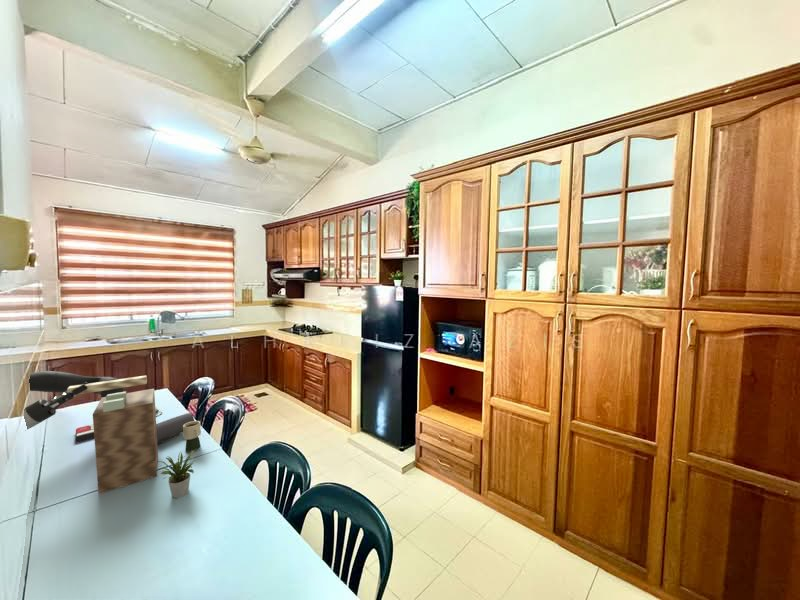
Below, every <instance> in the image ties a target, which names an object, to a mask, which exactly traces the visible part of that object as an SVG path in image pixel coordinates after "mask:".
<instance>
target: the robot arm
mask: <svg viewBox="0 0 800 600" xmlns="http://www.w3.org/2000/svg"><path fill="white" fill-rule="evenodd" d="M29 373H30V379H29V383H30V391H31V392H42V393H60V394H57V395H55V396H53V397H52V398H51V399H50V400H47V399H44V398H43V399H42V398H41V399H39V400H37V401H35V402H34V403H32V404H31V403H30V405H28V406H26V407H24V408H25V409H24V408H23V409H24V419H25V422H26V426H27V430H30V429H31V428H33V427H35V426H37V425H39V424H40V423H42V422H44V421H46V420H48V419H49V418H51V417H53V416H54V415H56V414H57V409H58V408H60V407H62V406H63V405H64V404H66V403H68V402H69V401H71V400H73V398H75V397H77V395H76V394H78V395H80V394H79V393H81V392H82V391H84V390H86V389H87V386H86V385H84V384H89V383H96V382H104V381H111V380H118V379H119V378H117V377H112V376H84V375H80V374H76V373H70V372H65V371H57V370H56V371H54V370H53V371H52V370H45V371H44V370H43V371H36V372H29ZM75 385H81V386H79V387H78V388H76V389H74V390H73V391H69V392H68V391H67V388H68V387H69V386H75ZM120 392H124V388H117V389H111V390H104V391H98V392H91V394H97V395H100V399H101V398H102V397H106V396H107V395H108V394H114V393H120Z"/></svg>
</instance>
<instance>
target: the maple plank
mask: <svg viewBox="0 0 800 600" xmlns="http://www.w3.org/2000/svg"><path fill="white" fill-rule="evenodd" d="M117 379H118V380H111V381H104V382H96V383H89V384H84V385H86V386H87V389H86V390H84V391H82V392H81V393H79V394H76V396H78V395H83V394H90V393H91V392H98V391H104V390H111V389H117V388H123V389H124V388H128V387H135V386H141V385H147V383H148V376H147V375H146V374H145V375H140V376H132V377H126V378H117ZM79 386H81V385H75V386H69V387H68V388H67V391H68V392H69V391H73V390H74V389H76V388H78V387H79ZM91 394H92V393H91Z"/></svg>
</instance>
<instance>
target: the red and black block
mask: <svg viewBox="0 0 800 600" xmlns="http://www.w3.org/2000/svg"><path fill="white" fill-rule="evenodd" d="M93 439H94V426H93V423H92V424H90V425H84V426H80V427H77V428H76V429H75V443H76V444H78V443H83V442H86V441H90V440H93ZM94 440H95V439H94Z"/></svg>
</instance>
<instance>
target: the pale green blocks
mask: <svg viewBox="0 0 800 600" xmlns="http://www.w3.org/2000/svg"><path fill="white" fill-rule="evenodd" d="M127 393H128V392H127V391H123V392H120V393H114V394H108V395H107V396H106V401H104V402H103V412H106V411H112V410H117V409H122V408H124V406H125V405H124V402H126V400H127Z"/></svg>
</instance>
